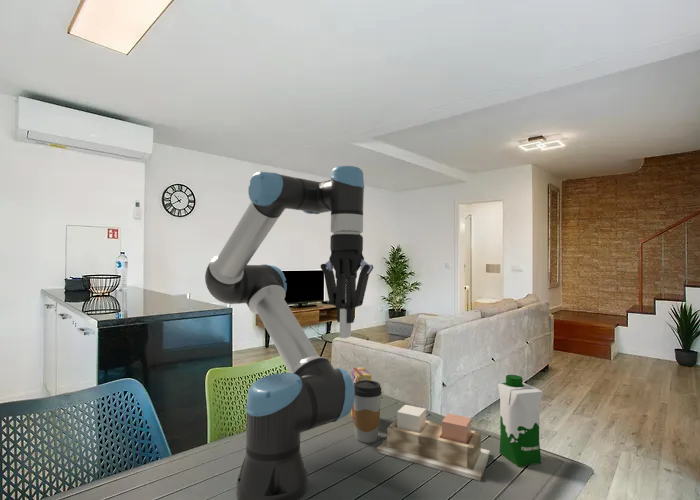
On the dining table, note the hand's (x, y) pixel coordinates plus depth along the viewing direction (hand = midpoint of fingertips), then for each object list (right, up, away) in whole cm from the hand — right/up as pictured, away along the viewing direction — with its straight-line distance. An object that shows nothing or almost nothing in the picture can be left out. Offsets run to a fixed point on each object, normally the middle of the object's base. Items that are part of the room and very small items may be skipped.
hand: (345, 336), depth 87 cm
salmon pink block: (+28, -30, +9) cm, 42 cm away
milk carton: (+45, -34, +10) cm, 57 cm away
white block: (+18, -30, +15) cm, 38 cm away
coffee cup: (+6, -34, +21) cm, 40 cm away
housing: (+23, -33, +12) cm, 42 cm away
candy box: (+4, -34, +33) cm, 47 cm away
